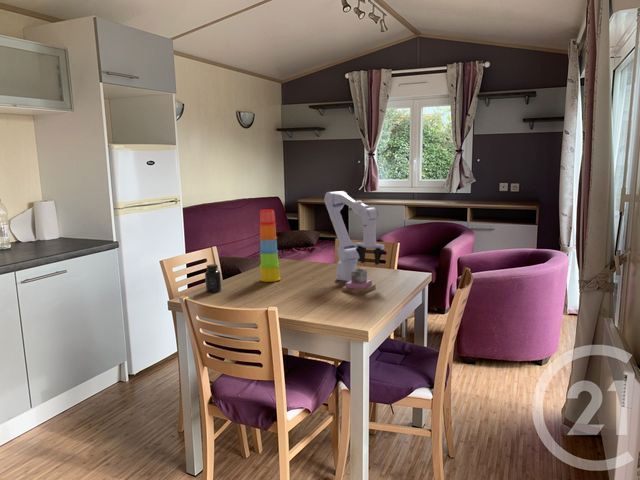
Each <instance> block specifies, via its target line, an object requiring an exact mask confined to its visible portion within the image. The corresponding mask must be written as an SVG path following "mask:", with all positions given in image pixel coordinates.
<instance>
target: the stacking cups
mask: <svg viewBox="0 0 640 480" xmlns="http://www.w3.org/2000/svg"><path fill="white" fill-rule="evenodd" d="M275 215H276V214H275V211H274V209H260V211H259V220H260V223H259V233H260V234H259V235H260V236H259V242H260V243H259V245H260V246H259V247H260V251H259V254H260V264H259V267H260V275H261V277H260V278H259V280H260V282H263V283H264V282H265V283H268V282H271V283H273V282H277V281H278V282H279V281H280V280H281V279H282V277H280V263H279V256H278V255H279V254H278V253H279V250H278V242H277V239H278V236H277V230H276V225H277V223H276V216H275Z"/></svg>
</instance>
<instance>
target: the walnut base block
mask: <svg viewBox="0 0 640 480" xmlns="http://www.w3.org/2000/svg"><path fill="white" fill-rule="evenodd" d="M376 285H377V284H376V283H372V285H370V286H368V287H366V288H364V289H362V290H360V289H353V288H346V285H344V286H342V287H341V292H343V293H344V292H345V293H350V294H356V295H364V294H366V293H369V292H371V291H372V290H375V289H376Z"/></svg>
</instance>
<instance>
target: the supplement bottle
mask: <svg viewBox="0 0 640 480" xmlns="http://www.w3.org/2000/svg"><path fill="white" fill-rule="evenodd" d="M206 270H207V271H206V272H205V273H204V275H205V276H204V280H205V281H204V282H205V291H206V292H207V293H211V294H212V293H213V294H215V293H219V292H221V290H222V279H221V276H222V275H221V272H220V270H219V268H218V264H215V263H214V264H208V265H207V264H206Z"/></svg>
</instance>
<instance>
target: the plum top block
mask: <svg viewBox="0 0 640 480" xmlns="http://www.w3.org/2000/svg"><path fill="white" fill-rule="evenodd" d="M372 284H373V280H372V279H367V281H365V282H363V283H356V282H351V281H346V282H345V286H346V288H353V289H360V290H362V289H364V288H366V287H368V286H370V285H372Z"/></svg>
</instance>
